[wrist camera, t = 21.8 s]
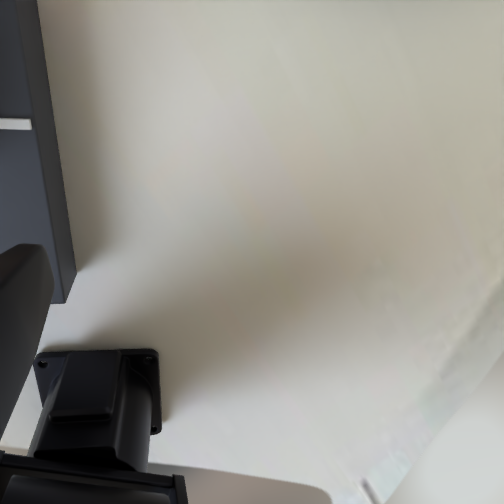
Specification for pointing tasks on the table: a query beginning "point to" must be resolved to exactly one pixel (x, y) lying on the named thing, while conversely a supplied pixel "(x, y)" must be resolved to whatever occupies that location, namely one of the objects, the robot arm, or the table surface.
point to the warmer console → (31, 147)
